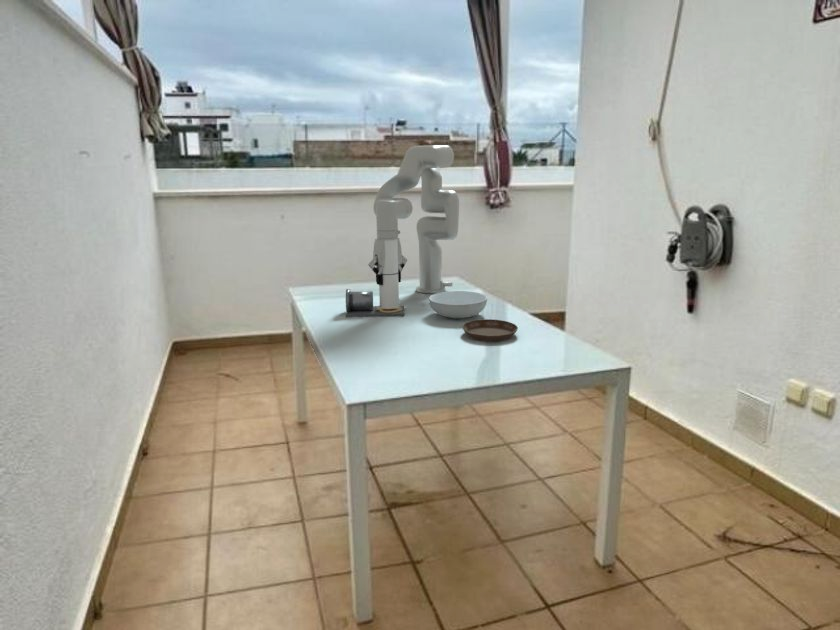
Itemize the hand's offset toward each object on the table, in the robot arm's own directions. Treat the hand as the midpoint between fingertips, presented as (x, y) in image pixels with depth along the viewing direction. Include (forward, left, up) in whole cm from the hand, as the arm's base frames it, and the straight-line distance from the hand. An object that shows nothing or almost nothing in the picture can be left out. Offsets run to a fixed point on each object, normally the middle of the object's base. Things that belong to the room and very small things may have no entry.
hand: (388, 282), depth 216 cm
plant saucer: (-33, +31, -12) cm, 47 cm away
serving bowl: (-25, +6, -11) cm, 28 cm away
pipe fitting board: (+5, 0, -11) cm, 12 cm away
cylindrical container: (0, 0, -9) cm, 9 cm away
